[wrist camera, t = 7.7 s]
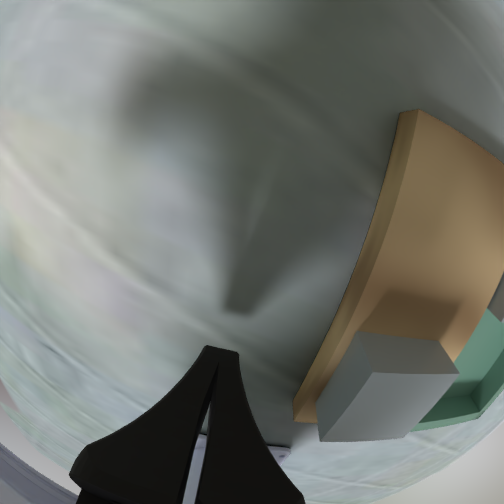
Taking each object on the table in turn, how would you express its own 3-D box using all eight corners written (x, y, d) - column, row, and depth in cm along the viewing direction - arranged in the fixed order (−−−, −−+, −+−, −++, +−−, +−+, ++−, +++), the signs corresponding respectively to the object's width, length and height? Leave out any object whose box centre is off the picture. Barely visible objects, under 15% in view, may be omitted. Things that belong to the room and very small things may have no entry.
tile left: (391, 405, 12) (402, 437, 10) (315, 402, 12) (319, 441, 10) (438, 340, 11) (460, 373, 8) (356, 330, 10) (372, 372, 8)
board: (398, 405, 15) (404, 422, 13) (292, 400, 15) (293, 421, 13) (510, 180, 9) (529, 186, 7) (399, 112, 9) (418, 108, 7)
